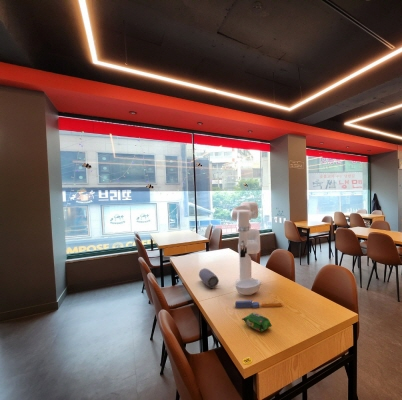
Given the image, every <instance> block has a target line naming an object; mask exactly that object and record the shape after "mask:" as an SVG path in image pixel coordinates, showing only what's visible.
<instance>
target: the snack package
mask: <svg viewBox="0 0 402 400" xmlns="http://www.w3.org/2000/svg"><path fill="white" fill-rule="evenodd" d="M241 320H242V321H244V323H245V325H246V326H248V327H249V328H251V329H253V330H255V331H257V332H259V333H262V332H264V331H265V330H267V329H268V328H272V322H271V321H270V320H269V318H267V317H265V316H263V315H261V314H258V313H256V312H252V313H249V314H248V315H247V316H245V317H242V318H241Z"/></svg>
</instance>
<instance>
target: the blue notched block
mask: <svg viewBox="0 0 402 400" xmlns="http://www.w3.org/2000/svg"><path fill="white" fill-rule="evenodd" d="M234 306H235V309H241V308H242V309H243V308H244V309H245V308H253V309H258V308H259V307H260V302H259V301H253V300H235V305H234Z"/></svg>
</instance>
